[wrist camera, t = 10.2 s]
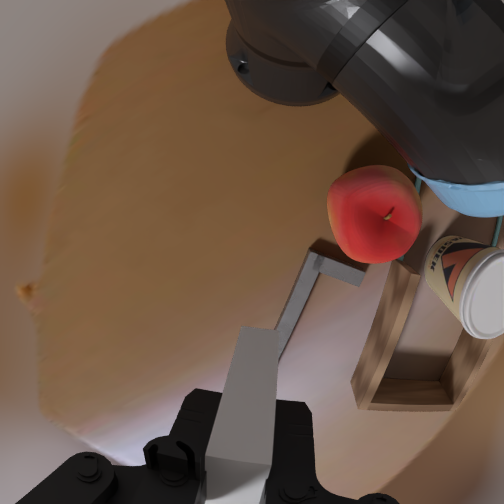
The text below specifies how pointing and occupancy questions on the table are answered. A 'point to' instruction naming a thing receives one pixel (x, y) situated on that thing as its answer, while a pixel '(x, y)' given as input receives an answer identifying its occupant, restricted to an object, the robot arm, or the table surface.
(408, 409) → the cubby
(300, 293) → the crook tool
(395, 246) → the apple
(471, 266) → the coffee cup
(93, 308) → the table surface
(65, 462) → the robot arm
